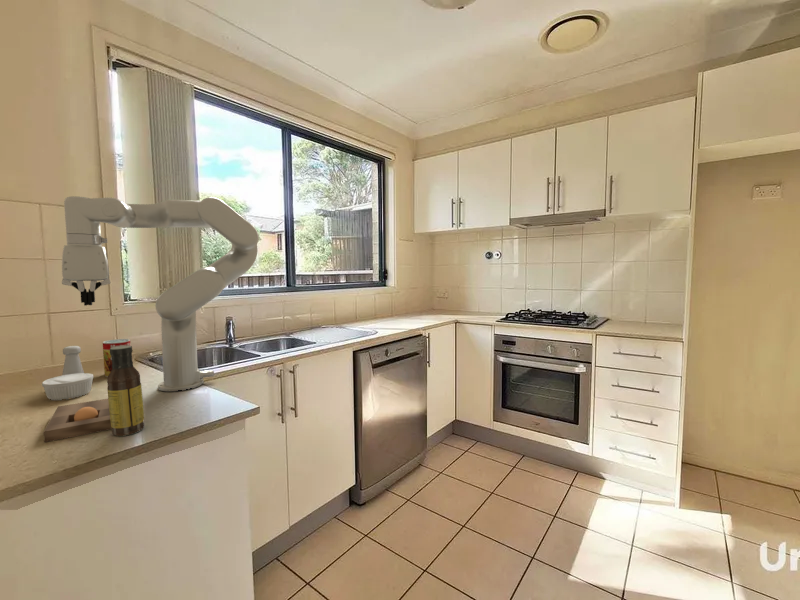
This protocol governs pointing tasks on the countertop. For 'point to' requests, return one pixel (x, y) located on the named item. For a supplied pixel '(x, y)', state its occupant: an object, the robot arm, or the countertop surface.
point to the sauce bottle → (124, 393)
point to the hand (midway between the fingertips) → (88, 304)
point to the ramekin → (68, 386)
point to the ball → (86, 414)
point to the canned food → (106, 352)
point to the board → (67, 427)
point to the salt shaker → (72, 360)
